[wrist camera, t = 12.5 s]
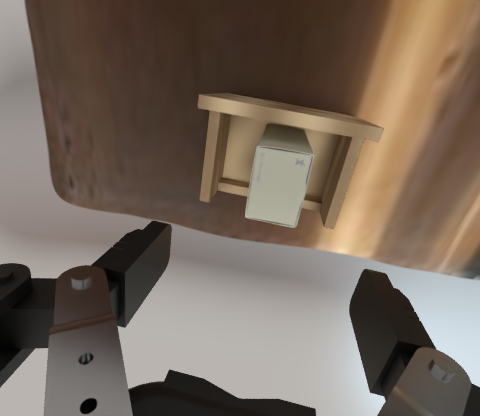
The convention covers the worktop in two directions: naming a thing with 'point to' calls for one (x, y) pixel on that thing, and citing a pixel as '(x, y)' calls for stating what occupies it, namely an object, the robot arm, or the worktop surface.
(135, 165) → the worktop surface
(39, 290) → the robot arm
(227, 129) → the caddy
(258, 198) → the skincare box
